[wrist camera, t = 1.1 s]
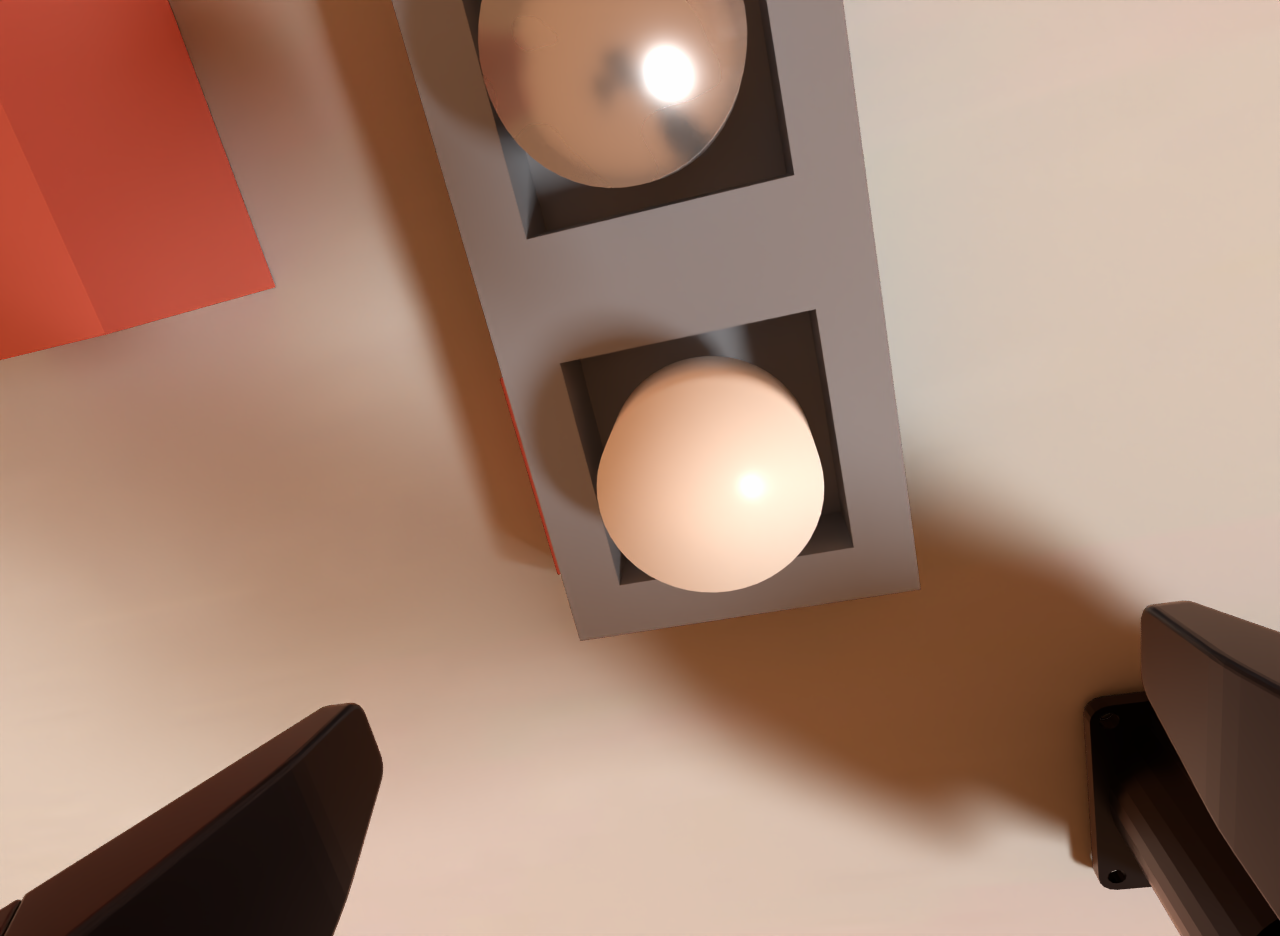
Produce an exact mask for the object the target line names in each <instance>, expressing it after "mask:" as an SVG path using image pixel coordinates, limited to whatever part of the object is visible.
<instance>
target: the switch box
mask: <svg viewBox="0 0 1280 936" xmlns="http://www.w3.org/2000/svg"><path fill="white" fill-rule="evenodd" d="M743 1H744V6H745V13H746V22H747V51H746V59H745V66H744V71H743V76H742V80H741V84H740V88H739V92H738V96H737V99H736V102H735V104H734V107H733V110H732V112H731V114H730V116H729V118H728V120H727V122H726V124H725V126H724V127H723V129H722V130H721V132H720V133H719V135H718V136H717V138H716V139H715V140H714V142H713V143H712V144H711V145H710V146H709V147H708V148H707V149H706V150H705V152H704V153H702V154H701V155H700V156H699V157H698V158H697V159H695V160H694V161H693V162H692V163H690V164H689V165H687V166H686V167H684V168H683V169H681V170H680V171H678V172H676V173H674V174H672V175H669V176H667V177H665V178H662V179H659V180H656V181H652V182H649V183H645V184H641V185H636V186H630V187H621V188H604V187H595V186H589V185H585V184H581V183H577V182H574V181H572V180H569V179H567V178H564V177H562V176H559V175H558V174H556V173H554V172H552V171H550V170H549V169H547V168H545V167H544V166H543V165H541V164H540V163H539V162H537V161H536V160H535V159H533V158H532V157H531V156H530V155H529V154H528V153H527V152H526V151H525V150H524V149H523V148H521V147H520V146H519V145H518V143H517V142H516V141H515V140H514V138H513V137H512V136H511V135H510V133H509V132H508V131H507V129H506V128H505V126H504V124H503V123H502V121H501V120H500V118H499V116H498V115H497V112H496V110H495V108H494V106H493V104H492V102H491V100H490V97H489V94H488V91H487V88H486V85H485V82H484V78H483V74H482V69H481V64H480V57H479V46H478V24H479V15H480V8H481V2H482V0H392V3H393V7H394V10H395V14H396V17H397V20H398V24H399V27H400V31H401V34H402V37H403V41H404V44H405V48H406V51H407V54H408V58H409V61H410V65H411V68H412V71H413V75H414V78H415V82H416V85H417V88H418V92H419V95H420V99H421V102H422V105H423V109H424V112H425V116H426V119H427V122H428V126H429V129H430V133H431V136H432V139H433V143H434V146H435V149H436V153H437V156H438V160H439V163H440V166H441V170H442V173H443V177H444V180H445V183H446V187H447V190H448V194H449V197H450V200H451V204H452V207H453V211H454V214H455V217H456V221H457V224H458V228H459V231H460V234H461V238H462V241H463V245H464V248H465V251H466V255H467V258H468V262H469V265H470V268H471V272H472V275H473V278H474V282H475V285H476V289H477V292H478V295H479V299H480V302H481V306H482V309H483V312H484V316H485V319H486V323H487V326H488V329H489V333H490V336H491V340H492V343H493V346H494V350H495V353H496V357H497V360H498V363H499V367H500V370H501V374H502V378H501V379H500V381H501V384H502V388H503V391H504V395H505V398H506V401H507V405H508V408H509V411H510V415H511V418H512V422H513V425H514V428H515V432H516V435H517V439H518V442H519V445H520V449H521V452H522V455H523V459H524V462H525V466H526V469H527V472H528V476H529V479H530V482H531V486H532V489H533V493H534V496H535V499H536V503H537V506H538V509H539V513H540V516H541V520H542V523H543V526H544V530H545V533H546V537H547V540H548V543H549V547H550V550H551V553H552V557H553V560H554V564H555V567H556V570H557V574H558V575H559V574H561V577H562V581H563V584H564V587H565V591H566V594H567V598H568V601H569V604H570V608H571V611H572V615H573V618H574V621H575V625H576V628H577V632H578V635H579V638H580V641H583V640H589V639H596V638H603V637H609V636H616V635H622V634H629V633H636V632H642V631H649V630H655V629H662V628H669V627H675V626H682V625H689V624H695V623H702V622H708V621H715V620H722V619H728V618H735V617H741V616H748V615H755V614H761V613H768V612H774V611H781V610H788V609H794V608H801V607H807V606H814V605H821V604H827V603H834V602H841V601H847V600H854V599H860V598H867V597H874V596H880V595H887V594H893V593H900V592H907V591H913V590H920V589H921V588H920V581H919V573H918V565H917V558H916V550H915V543H914V535H913V528H912V520H911V512H910V505H909V497H908V490H907V482H906V475H905V467H904V459H903V452H902V444H901V437H900V429H899V422H898V414H897V406H896V399H895V391H894V384H893V376H892V369H891V361H890V353H889V346H888V338H887V331H886V323H885V316H884V308H883V300H882V293H881V285H880V278H879V270H878V263H877V255H876V247H875V240H874V232H873V225H872V217H871V210H870V202H869V194H868V187H867V179H866V172H865V164H864V157H863V149H862V141H861V134H860V126H859V119H858V111H857V104H856V96H855V88H854V81H853V73H852V66H851V58H850V51H849V43H848V35H847V28H846V20H845V13H844V5H843V0H743ZM701 356H721V357H730V358H734V359H738V360H742V361H745V362H748V363H750V364H753V365H755V366H758V367H759V368H761V369H763V370H765V371H767V372H768V373H770V374H771V375H773V376H774V377H775V378H777V379H778V380H779V381H780V382H781V383H782V384H783V385H784V386H785V387H786V388H787V389H788V390H789V391H790V392H791V393H792V395H793V396H794V397H795V398H796V400H797V401H798V403H799V405H800V407H801V408H802V410H803V412H804V414H805V417H806V419H807V422H808V425H809V428H810V431H811V434H812V437H813V440H814V443H815V446H816V449H817V452H818V455H819V458H820V462H821V466H822V471H823V478H824V500H823V505H822V511H821V515H820V518H819V521H818V523H817V526H816V528H815V530H814V532H813V534H812V536H811V538H810V540H809V541H808V543H807V544H806V546H805V547H804V548H803V550H802V551H801V552H800V553H799V554H798V556H797V557H796V558H795V559H794V560H793V561H792V562H791V563H789V564H788V565H787V566H786V567H785V568H783V569H782V570H781V571H779V572H778V573H776V574H775V575H773V576H772V577H770V578H768V579H766V580H764V581H762V582H760V583H758V584H755V585H752V586H749V587H746V588H742V589H738V590H733V591H726V592H697V591H689V590H685V589H681V588H677V587H673V586H671V585H668V584H666V583H663V582H661V581H659V580H657V579H655V578H653V577H651V576H649V575H648V574H646V573H645V572H643V571H642V570H640V569H639V568H637V567H636V566H635V565H634V564H633V563H632V562H631V561H630V560H628V559H627V558H626V557H625V555H624V554H623V553H622V552H621V551H620V550H619V549H618V547H617V546H616V544H615V543H614V541H613V540H612V538H611V537H610V535H609V533H608V531H607V529H606V527H605V525H604V522H603V519H602V516H601V513H600V509H599V504H598V499H597V475H598V469H599V464H600V460H601V457H602V454H603V451H604V449H605V446H606V444H607V441H608V439H609V436H610V434H611V432H612V429H613V427H614V424H615V422H616V419H617V417H618V415H619V412H620V410H621V409H622V407H623V405H624V403H625V401H626V400H627V399H628V397H629V396H630V395H631V393H632V392H633V391H634V390H635V389H636V388H637V387H638V386H639V385H640V384H641V383H642V382H643V381H644V380H645V379H647V378H648V377H649V376H650V375H652V374H653V373H655V372H656V371H658V370H660V369H662V368H663V367H665V366H668V365H670V364H672V363H675V362H677V361H681V360H685V359H688V358H694V357H701Z"/></svg>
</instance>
